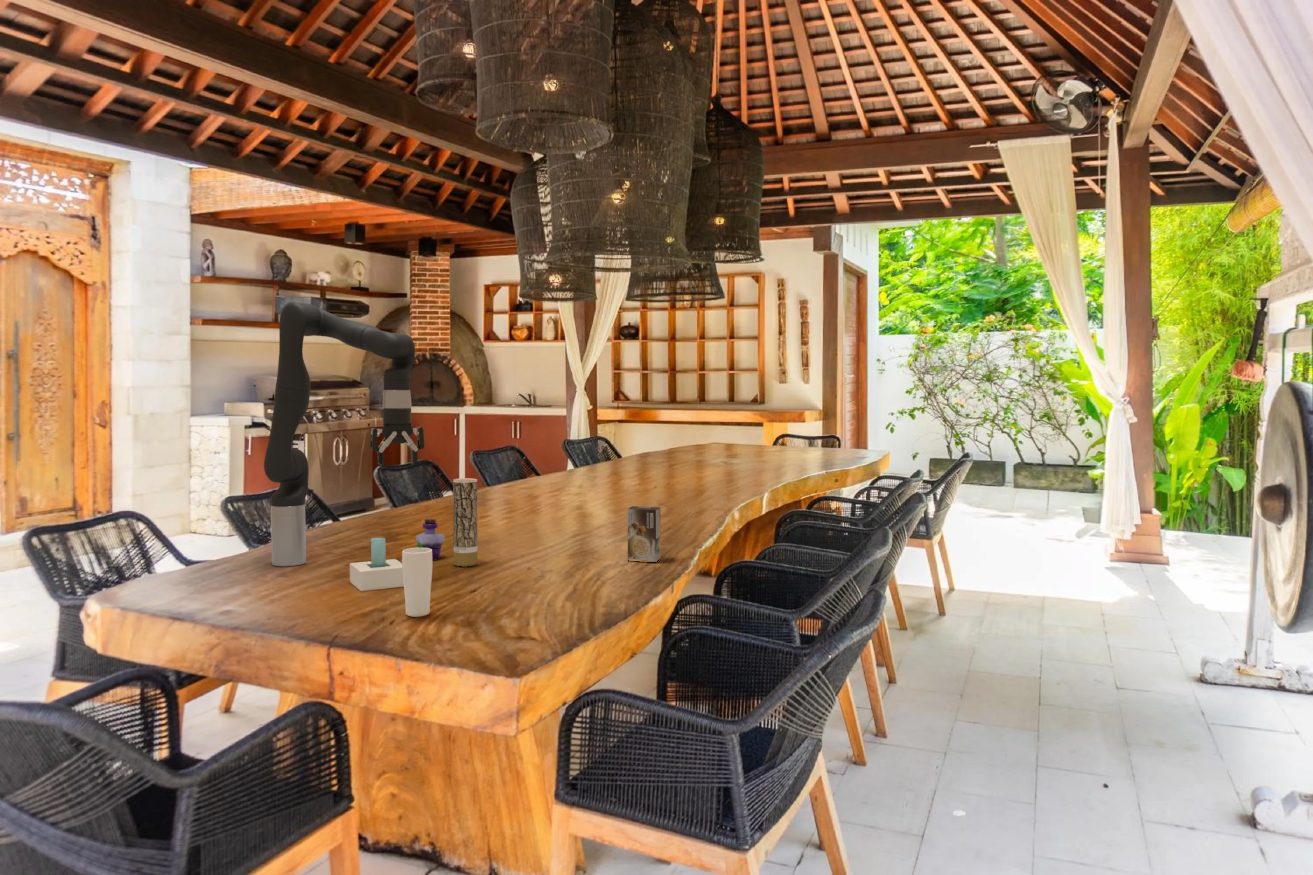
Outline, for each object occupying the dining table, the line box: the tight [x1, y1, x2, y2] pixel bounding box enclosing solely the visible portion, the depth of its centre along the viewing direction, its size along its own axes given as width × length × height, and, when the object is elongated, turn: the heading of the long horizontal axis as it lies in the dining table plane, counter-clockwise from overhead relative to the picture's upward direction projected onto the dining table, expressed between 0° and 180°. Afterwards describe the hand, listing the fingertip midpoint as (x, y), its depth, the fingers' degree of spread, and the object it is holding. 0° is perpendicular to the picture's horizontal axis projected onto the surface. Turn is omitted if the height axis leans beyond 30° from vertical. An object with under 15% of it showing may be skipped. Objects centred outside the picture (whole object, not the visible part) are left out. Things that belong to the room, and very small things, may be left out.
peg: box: [370, 537, 387, 568], centre depth 239 cm, size 4×4×12 cm
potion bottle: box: [415, 518, 446, 561], centre depth 273 cm, size 9×9×12 cm
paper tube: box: [452, 477, 478, 568], centre depth 263 cm, size 7×7×25 cm
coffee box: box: [627, 505, 661, 561], centre depth 273 cm, size 9×6×16 cm
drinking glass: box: [401, 547, 433, 618], centre depth 209 cm, size 7×7×15 cm
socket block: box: [349, 558, 404, 592], centre depth 239 cm, size 12×12×5 cm
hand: (397, 465), depth 250 cm, fingers open, 8 cm apart
